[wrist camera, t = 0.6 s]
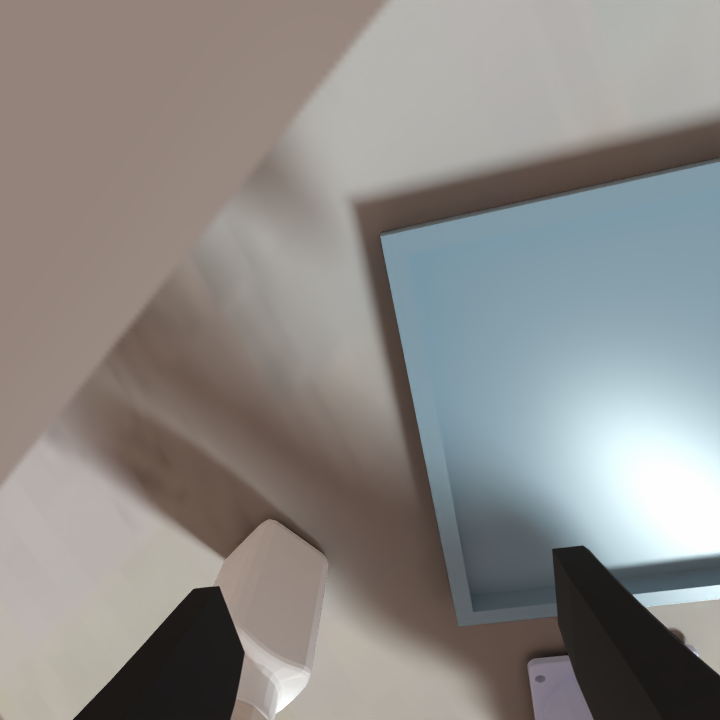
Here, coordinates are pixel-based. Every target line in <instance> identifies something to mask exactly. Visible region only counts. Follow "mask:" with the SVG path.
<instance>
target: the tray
mask: <svg viewBox="0 0 720 720" xmlns="http://www.w3.org/2000/svg"><path fill="white" fill-rule="evenodd" d="M380 238H381V243H382V248H383V253H384V258H385V263H386V268H387V273H388V278H389V283H390V288H391V293H392V298H393V303H394V308H395V313H396V318H397V323H398V328H399V333H400V338H401V343H402V348H403V353H404V358H405V363H406V368H407V373H408V378H409V383H410V388H411V393H412V398H413V403H414V408H415V413H416V418H417V423H418V428H419V433H420V438H421V443H422V448H423V453H424V458H425V463H426V468H427V473H428V478H429V483H430V488H431V493H432V498H433V503H434V508H435V513H436V518H437V523H438V528H439V533H440V538H441V543H442V548H443V553H444V558H445V563H446V568H447V573H448V578H449V583H450V588H451V593H452V598H453V603H454V608H455V613H456V618H457V623H458V627H463V626H472V625H481V624H491V623H500V622H509V621H519V620H528V619H538V618H547V617H556V616H558V615H557V603H556V591H555V579H554V567H553V555H552V549H555V548H564V547H573V546H582V545H583V546H585V547H586V548H588V549H589V550H590V551H591V552H592V553H593V554H594V556H595V557H596V558H597V559H598V560H599V561H600V562H601V563H602V564H603V565H604V566H605V567H606V568H607V569H608V571H609V572H610V573H611V574H612V575H613V576H614V577H615V578H616V579H617V580H618V581H619V582H620V583H621V584H622V585H623V586H624V587H625V588H626V589H627V590H628V591H629V592H630V593H631V594H632V595H633V596H634V597H635V598H636V599H637V600H638V601H639V602H640V603H641V604H642V605H643V606H644V607H650V606H659V605H668V604H678V603H687V602H697V601H706V600H715V599H720V158H716V159H711V160H707V161H702V162H697V163H693V164H688V165H684V166H679V167H675V168H670V169H666V170H661V171H657V172H652V173H648V174H643V175H639V176H634V177H630V178H625V179H621V180H616V181H612V182H607V183H603V184H598V185H594V186H589V187H585V188H580V189H576V190H571V191H567V192H562V193H558V194H553V195H549V196H544V197H540V198H535V199H530V200H526V201H521V202H517V203H512V204H508V205H503V206H499V207H494V208H490V209H485V210H481V211H476V212H472V213H467V214H463V215H458V216H454V217H449V218H445V219H440V220H436V221H431V222H427V223H422V224H418V225H413V226H409V227H404V228H400V229H395V230H391V231H386V232H382V233H381V235H380Z"/></svg>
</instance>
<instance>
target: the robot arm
mask: <svg viewBox="0 0 720 720" xmlns="http://www.w3.org/2000/svg"><path fill="white" fill-rule="evenodd" d="M552 555H553V567H554V579H555V591H556V603H557V615H558V625H559V628H560V631H561V634H562V637H563V640H564V643H565V647H566V650H567V653H568V655H565V656H554V657H544V658H535V659H532V660H530V661H529V663H528V665H527V667H528V675H529V682H530V689H531V696H532V703H533V710H534V717H535V720H720V675H719V674H717V673H716V672H715V671H714V670H713V669H712V668H710V667H709V666H708V665H707V664H706V663H705V662H703V661H702V660H701V659H700V658H699V655H698V653H697V651H696V650H695V648H694V647H693V646H692V645H689V644H683V643H682V642H681V641H680V640H679V639H678V638H677V637H676V636H675V635H674V634H673V633H672V632H671V631H669V630H668V629H667V628H666V627H665V626H664V625H663V624H662V623H661V622H660V621H659V620H658V619H657V618H656V617H654V616H653V615H652V614H651V613H650V612H649V611H648V610H647V609H646V608H645V607H644V606H643V605H642V604H641V603H640V602H639V601H638V600H637V599H636V598H635V597H634V596H633V595H632V594H631V593H630V592H629V591H628V590H627V589H626V588H625V587H624V586H623V585H622V584H621V583H620V582H619V581H618V580H617V579H616V578H615V577H614V576H613V575H612V574H611V573H610V572H609V571H608V569H607V568H606V567H605V566H604V565H603V564H602V563H601V562H600V561H599V560H598V559H597V558H596V557H595V556H594V554H593V553H592V552H591V551H590V550H589V549H588V548H586V547H585V546H583V545H582V546H573V547H564V548H555V549H552ZM244 655H245V652H244V649H243V646H242V644H241V641H240V639H239V636H238V633H237V631H236V628H235V626H234V623H233V620H232V618H231V615H230V613H229V610H228V607H227V605H226V602H225V600H224V597H223V594H222V592H221V589H220V587H219V586H214V587H205V588H196V589H193V590H192V591H191V592H190V593H189V594H188V595H187V596H186V598H185V599H184V600H183V601H182V602H181V603H180V604H179V605H178V606H177V607H176V608H175V610H174V611H173V612H172V613H171V614H170V615H169V616H168V617H167V618H166V620H165V621H164V622H163V623H162V624H161V625H160V626H159V627H158V629H157V630H156V631H155V632H154V633H153V634H152V635H151V636H150V638H149V639H148V640H147V641H146V642H145V643H144V644H143V645H142V646H141V648H140V649H139V650H138V651H137V652H136V653H135V654H134V655H133V656H132V658H131V659H130V660H129V661H128V662H127V663H126V664H125V665H124V666H123V667H122V669H121V670H120V671H119V672H118V673H117V674H116V675H115V676H114V677H113V678H112V679H111V681H110V682H109V683H108V684H107V685H106V686H105V687H104V688H103V689H102V690H101V691H100V692H99V693H98V694H97V695H96V696H95V697H94V698H93V699H92V700H91V701H90V702H89V703H88V704H87V705H86V707H85V708H84V709H83V710H82V711H81V712H80V713H79V714H78V715H77V716H76V717H75V718H74V719H73V720H231V716H232V713H233V709H234V706H235V701H236V697H237V692H238V687H239V682H240V677H241V672H242V666H243V661H244Z"/></svg>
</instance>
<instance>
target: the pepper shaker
mask: <svg viewBox="0 0 720 720" xmlns="http://www.w3.org/2000/svg"><path fill="white" fill-rule="evenodd" d="M328 567H329V564H328V560H327V559H326V557H325V556H324V554H323V553H321V552H320V551H318V550H317V549H316V548H314V547H313V546H311V545H310V544H309V543H307V542H306V541H304V540H303V539H301V538H300V537H299V536H297V535H296V534H294V533H293V532H292V531H290V530H289V529H287V528H286V527H285V526H283V525H282V524H280V523H279V522H278V521H275V520H272V519H268V520H266V521H264V522H263V523H261V524H260V525H259V526H258V527H257V528H256V529H255V530H254V531H253V532H252V533H251V534H250V535H249V536H248V537H247V538H246V539H245V540H244V541H243V542H242V543H241V544H240V545H239V546H238V547H237V548H236V549H235V550H234V551H233V552H232V553H231V554H230V555H229V556H228V557H227V558H226V559H225V561H224V563H223V565H222V567H221V570H220V572H219V574H218V576H217V579H216V581H215V583H214V586H219V587H220V589H221V592H222V594H223V597H224V600H225V602H226V605H227V607H228V610H229V613H230V615H231V618H232V620H233V623H234V626H235V628H236V631H237V633H238V636H239V639H240V641H241V644H242V646H243V649H244V652H245V655H244V661H243V666H242V672H241V677H240V682H239V687H238V692H237V697H236V701H235V706H234V709H233V713H232V716H231V720H274V718H275V714H276V713H278V712H279V711H280V710H282V709H283V708H284V707H285V706H286V705H288V704H289V703H290V702H291V701H292V700H293V699H294V698H295V697H296V696H297V695H298V694H299V693H300V692H301V691H302V690H303V688H304V687H305V686H306V685H307V682H308V680H309V677H310V674H311V671H312V665H313V659H314V653H315V647H316V641H317V634H318V628H319V622H320V616H321V610H322V604H323V598H324V592H325V586H326V579H327V573H328ZM214 586H213V587H214Z"/></svg>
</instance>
